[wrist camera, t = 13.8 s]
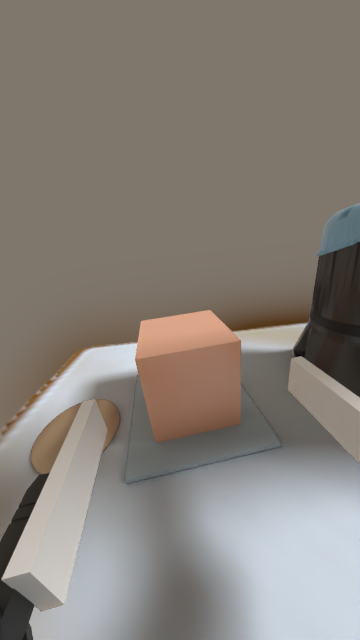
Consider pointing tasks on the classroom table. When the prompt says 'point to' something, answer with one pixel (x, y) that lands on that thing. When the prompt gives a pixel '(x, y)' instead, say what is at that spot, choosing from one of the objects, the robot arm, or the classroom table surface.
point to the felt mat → (193, 442)
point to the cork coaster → (58, 429)
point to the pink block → (189, 374)
